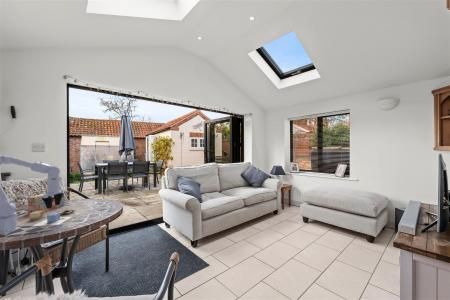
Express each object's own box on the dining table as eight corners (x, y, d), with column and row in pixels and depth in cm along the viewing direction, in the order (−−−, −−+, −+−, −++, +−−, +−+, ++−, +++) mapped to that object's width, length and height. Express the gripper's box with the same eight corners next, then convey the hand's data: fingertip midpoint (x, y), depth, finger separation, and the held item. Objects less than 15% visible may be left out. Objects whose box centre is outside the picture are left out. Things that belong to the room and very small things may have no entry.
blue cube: (55, 222, 119) (55, 215, 119) (47, 222, 119) (47, 215, 119) (59, 219, 124) (59, 212, 124) (52, 220, 123) (52, 213, 123)
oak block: (38, 220, 123) (38, 213, 123) (29, 221, 122) (29, 213, 122) (44, 218, 128) (44, 210, 128) (35, 218, 127) (35, 211, 127)
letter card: (58, 225, 116) (58, 224, 116) (31, 227, 113) (31, 226, 113) (72, 217, 129) (72, 216, 129) (48, 218, 127) (48, 217, 127)
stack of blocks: (57, 205, 157) (57, 190, 157) (63, 205, 157) (63, 190, 156) (27, 214, 136) (27, 197, 136) (35, 214, 135) (35, 197, 135)
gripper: (52, 187, 115) (52, 209, 115) (67, 183, 129) (67, 202, 129) (39, 187, 113) (39, 210, 113) (55, 183, 128) (55, 203, 128)
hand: (53, 206), depth 121 cm, fingers open, 7 cm apart
